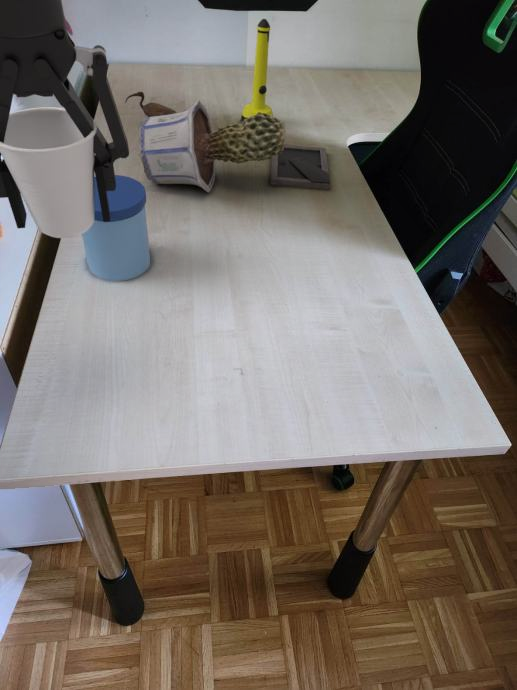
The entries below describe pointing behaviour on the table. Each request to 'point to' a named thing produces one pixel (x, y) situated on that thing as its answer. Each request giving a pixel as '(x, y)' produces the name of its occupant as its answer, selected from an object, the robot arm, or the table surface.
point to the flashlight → (259, 74)
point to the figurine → (152, 107)
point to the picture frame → (300, 168)
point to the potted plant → (203, 145)
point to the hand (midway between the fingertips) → (65, 218)
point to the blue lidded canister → (119, 233)
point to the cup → (52, 169)
